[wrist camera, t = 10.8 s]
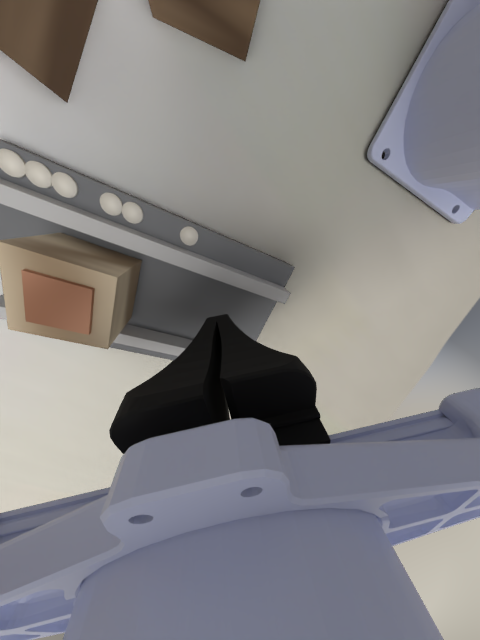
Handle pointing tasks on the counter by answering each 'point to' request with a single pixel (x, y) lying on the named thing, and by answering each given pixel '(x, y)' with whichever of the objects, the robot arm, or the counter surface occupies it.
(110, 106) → the counter surface
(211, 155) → the counter surface
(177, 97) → the counter surface
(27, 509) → the robot arm
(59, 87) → the walnut block
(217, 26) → the walnut block
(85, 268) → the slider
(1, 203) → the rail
